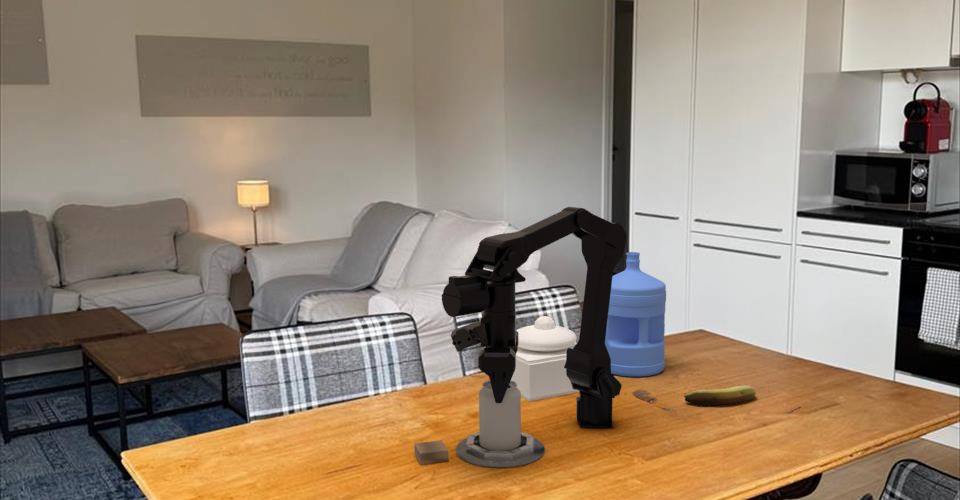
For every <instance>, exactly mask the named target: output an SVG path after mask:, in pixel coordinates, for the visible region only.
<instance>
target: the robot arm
mask: <svg viewBox="0 0 960 500" xmlns="http://www.w3.org/2000/svg"><path fill="white" fill-rule="evenodd" d="M570 235H573V237H574V236H575V237H576V238H577V239H579V240H581V253H582V256H583V258H584V262H585V264H586V267H587V268H586V276H585V277H586V278H585V284H584V285H585V286H584V294H583V304H582V313H581V321H580V330H579V337H578V341H576V343H577V344H576V345H575V346H574V348H573V349H572V348H568V349H567V352H566V363H565V366H564V368H565V369H566V375H567V377H568V378H569V380H570V381H571V385H572V388H573V389H575V390H579V392H578V395H579V396H577V397H576V399H575V401H576V403H575V405H576V408H575V409H576V411H575V412H576V413H575V415H576V416H575V417H576V422H578V425H579V428H594V429H595V428H601V429H602V428H605V429H606V428H607V429H608V428H609V429H611V428H613V429H614V422H613V399H615V397H617V396H620V394H621V389H622V385H623V384H622V383H621V382H620V381H619V380H618V379H617V377H615V376H614V374H611V358H610V356H609V353H608V350H607V348H606V345H605V337H606V328H607V320H608V311H609V302H610V294H611V285H612V277H613V276H614V269H615V268H616V267H617V266H618V264H619V262H621V260H622V258H623V256H624V253H625V249H626V244H627V240H628V238H627V236H628V235H627V231H626V230H625V228H624V227H623V226H622V225H621V224H620V223H617V222H611V221H610V220H606V219H604V218H602V217H600V216H597V215H596V214H593V213H592V212H591V211H589V210H588V209H586V208H583V207H578V206H577V207H574V206H567V207H564V208H562V209H561V211H558V212H557V213H554V214H552V215H550V216H548V217H546V218H544V219H541V220H539V221H538V222H536V223H533V224H531V225H528V226H527V227H524V228H522V229H521V230H518V231H513V232H506V233H499V234H494V235H491V236H486V237H484V238H483V239H481V241H480V242H479V243H478V248H477V251H476V252H475V254H474V256H473V258H472V260H471V261H470V264H469V265H468V267H467V269H466V270H465V271H464V275H461V276H459V275H452V276H448V283H447V284H446V285H445V286H444V288H443V291H442V294H441V304H442V307H443V309H444V311H445V313H446V314H447V315H448V316H449V317H451V318H456V317H457V318H458V317H461V316H468V315H472V314H480V313H482V314H481V317H480V320H479V321H475V322H471V323H469V324H466V325H464V326H461V327H458V328H457V327H456V329H453V330H452V332H451V333H450V337H451V340H452V342H451V343H452V346H454V348H455V351H456V352H457V353H459V352H463V351H464V350H465V349H468V348H471V347H473V346H476V345H478V344H480V347H482V348H483V349H482V350H481V351H480V352H479V353H478V354H479V355H478V358H477V359H478V363H477V364H478V366H477V367H478V369H479V370H480V371H481V373H483V374H485V375H486V376H488V378H489V380H490V382H491V386H492V391H493V395H494V399H495V402H496V403H502V401H503V398H504V396H505V393H506V391H507V388H508V386H509V383H510V381H511V378H512V376H513V374H514V372H515V368H516V353H517V350H518V343H519V333H518V332H517V331H516V330H517V329H516V328H517V327H516V319H517V311H516V284H517V283H524V282H526V279H527V278H526V277H524V276H523V275H522V274H521V273H520V272H519V271H518V268H521V266H523V265H525V263H527V261H528V260H529V258H530V257H531V255H532V254H533V253H535V252H537V251H538V250H539V251H540V250H541V249H543V248H545V247H547V246H550V245H551V244H553V243H555V242H557V241H560V240H562V239H563V238H565V237H568V236H570Z"/></svg>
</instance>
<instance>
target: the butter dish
mask: <svg viewBox="0 0 960 500" xmlns="http://www.w3.org/2000/svg"><path fill="white" fill-rule="evenodd" d="M516 331H517V332H518V333H519V343H518V350H517V353H516V368H515V372H514V374H513V376H512V378H511V380H512V381H514V382H516V383H517V388H518V389H519V390H520V391H521V399H525V400H527V401H528V402H533V401H537V400H543V399H549V398H554V397H558V396H564V395H570V394H574V393H579V390H575V389H573V388H572V385H571V381H570V380H569V378H568V377H567V375H566V369H565V368H564V366H565V363H566V352H567V349H568V348H572V349H573V348H574V346H575V345H576V344H577V339H578V337H577V334H576V333H575V332H574V331H573V330H572V329H571V330H570V329H569V328H566V327H563V326H560V325H559V326H558V325H556V323H555V321H554V319H552V318H551V317H550V316H546V315H544V316H539V317H538V318H537V319H536V320H535V321H534V324H532V325H527V326H523V327H519V328H518V329H516Z"/></svg>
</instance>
